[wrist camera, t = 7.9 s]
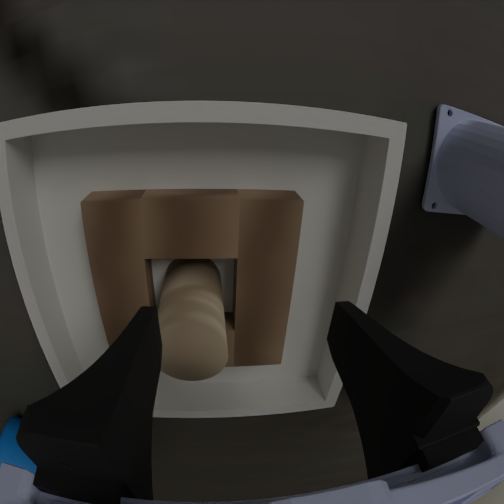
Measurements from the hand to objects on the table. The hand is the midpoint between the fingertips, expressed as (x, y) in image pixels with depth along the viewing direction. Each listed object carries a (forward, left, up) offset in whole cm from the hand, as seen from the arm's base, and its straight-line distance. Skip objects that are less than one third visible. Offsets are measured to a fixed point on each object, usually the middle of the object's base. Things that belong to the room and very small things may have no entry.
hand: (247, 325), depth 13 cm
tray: (+3, +3, -9) cm, 10 cm away
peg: (+3, +3, -8) cm, 9 cm away
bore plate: (+3, +3, -9) cm, 10 cm away
